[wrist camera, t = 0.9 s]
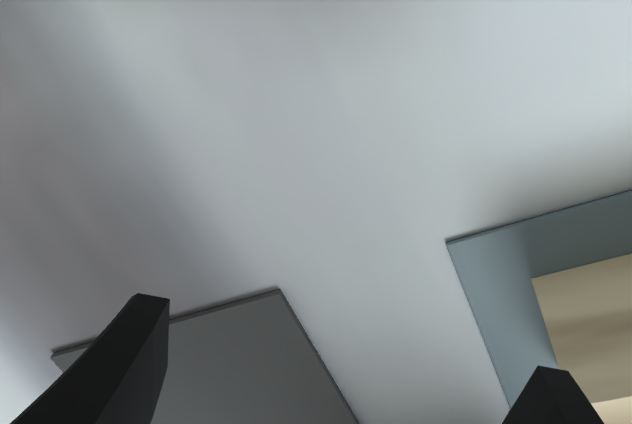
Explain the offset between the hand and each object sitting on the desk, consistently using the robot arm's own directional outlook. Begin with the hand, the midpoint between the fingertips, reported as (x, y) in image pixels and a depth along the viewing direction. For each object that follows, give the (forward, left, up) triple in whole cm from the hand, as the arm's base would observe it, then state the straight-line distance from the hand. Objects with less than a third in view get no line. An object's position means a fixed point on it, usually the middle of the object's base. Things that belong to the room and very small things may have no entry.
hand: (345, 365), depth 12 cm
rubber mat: (-10, +12, -10) cm, 19 cm away
